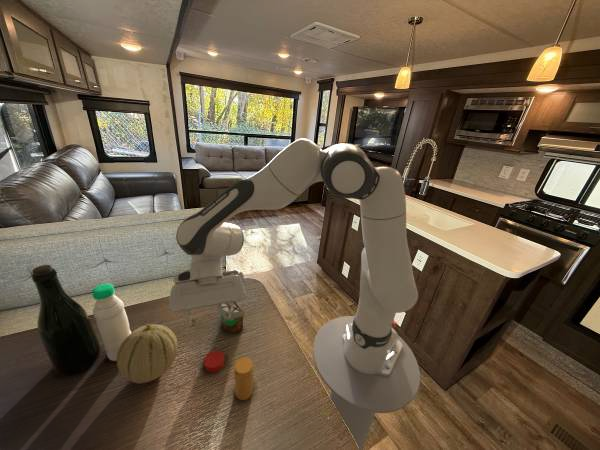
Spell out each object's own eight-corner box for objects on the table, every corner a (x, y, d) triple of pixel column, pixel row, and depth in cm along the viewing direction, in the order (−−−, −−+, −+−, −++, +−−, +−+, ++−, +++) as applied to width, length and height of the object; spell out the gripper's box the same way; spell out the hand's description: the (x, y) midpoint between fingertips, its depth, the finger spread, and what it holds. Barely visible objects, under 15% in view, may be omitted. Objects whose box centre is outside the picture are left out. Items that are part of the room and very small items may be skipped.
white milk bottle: (106, 349, 77) (85, 285, 67) (133, 338, 82) (116, 276, 72) (109, 366, 73) (86, 299, 62) (137, 354, 77) (119, 289, 67)
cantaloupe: (121, 405, 64) (107, 366, 57) (124, 359, 75) (112, 322, 69) (183, 379, 71) (177, 342, 65) (177, 341, 82) (171, 306, 76)
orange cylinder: (247, 378, 72) (247, 353, 68) (256, 392, 69) (257, 366, 65) (232, 389, 69) (230, 363, 65) (240, 404, 66) (239, 378, 62)
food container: (213, 319, 92) (211, 298, 88) (228, 312, 96) (227, 291, 92) (228, 341, 84) (227, 319, 80) (244, 332, 88) (244, 310, 84)
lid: (200, 369, 74) (200, 365, 73) (210, 352, 79) (210, 348, 78) (219, 374, 73) (218, 369, 72) (228, 356, 78) (227, 352, 78)
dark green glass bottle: (45, 375, 69) (-5, 278, 56) (77, 344, 78) (41, 255, 65) (82, 378, 69) (41, 282, 56) (109, 346, 78) (80, 258, 65)
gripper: (241, 270, 79) (247, 315, 75) (171, 280, 72) (172, 330, 68) (243, 266, 74) (249, 314, 70) (167, 277, 67) (168, 331, 62)
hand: (211, 322), depth 69 cm, fingers open, 8 cm apart
